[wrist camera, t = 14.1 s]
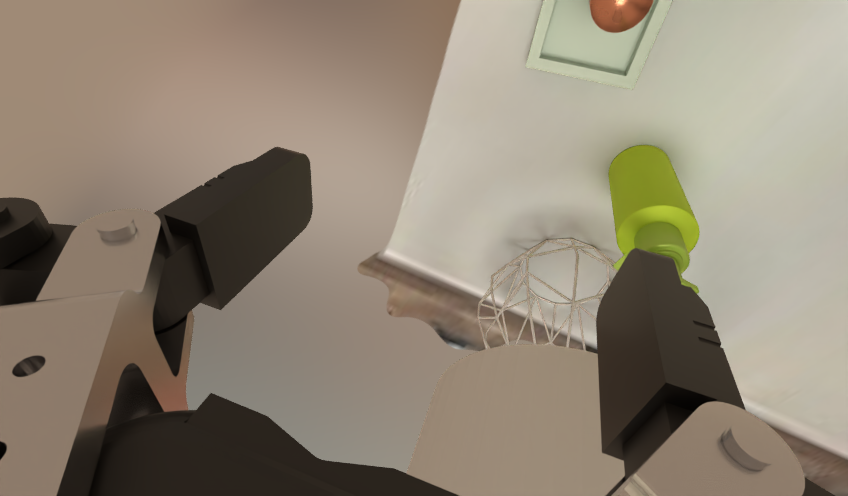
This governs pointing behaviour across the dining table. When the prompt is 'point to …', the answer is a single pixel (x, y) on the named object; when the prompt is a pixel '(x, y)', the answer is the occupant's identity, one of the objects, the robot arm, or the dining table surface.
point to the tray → (592, 43)
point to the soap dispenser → (651, 207)
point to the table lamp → (519, 412)
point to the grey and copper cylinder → (618, 13)
